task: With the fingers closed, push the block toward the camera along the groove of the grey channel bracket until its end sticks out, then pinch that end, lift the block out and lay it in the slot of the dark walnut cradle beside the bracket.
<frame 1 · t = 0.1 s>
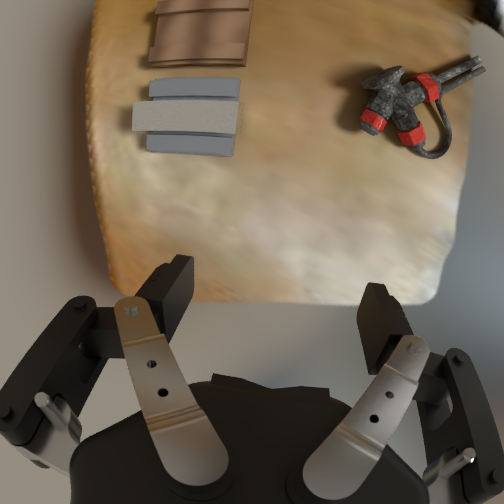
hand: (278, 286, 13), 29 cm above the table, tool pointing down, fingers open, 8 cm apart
block: (191, 115, 35), point 1 cm above the table, touching grey channel bracket
cradle: (203, 31, 30), on the table
valve: (430, 102, 31), on the table
grey channel bracket: (194, 115, 36), on the table
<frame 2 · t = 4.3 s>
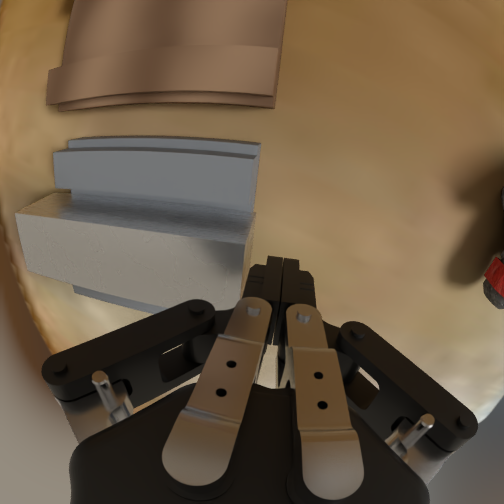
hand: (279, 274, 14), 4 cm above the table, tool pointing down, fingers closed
block: (137, 230, 16), point 2 cm above the table, touching gripper
cradle: (171, 19, 12), on the table
grey channel bracket: (157, 221, 18), on the table
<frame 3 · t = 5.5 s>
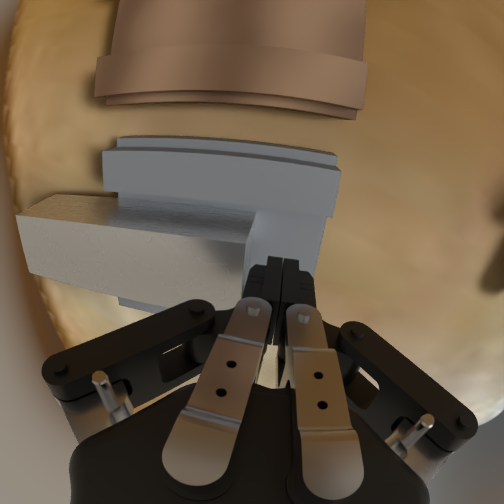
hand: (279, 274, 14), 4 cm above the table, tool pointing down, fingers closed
block: (138, 230, 16), point 1 cm above the table, touching grey channel bracket, gripper
cradle: (237, 15, 11), on the table
grey channel bracket: (218, 229, 17), on the table
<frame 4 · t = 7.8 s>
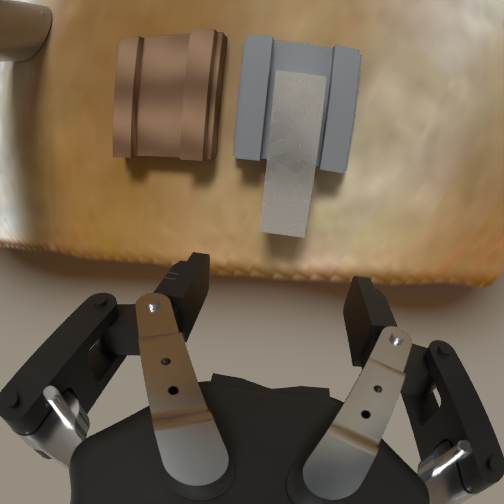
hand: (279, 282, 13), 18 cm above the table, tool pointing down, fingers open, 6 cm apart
block: (291, 150, 26), point 1 cm above the table, touching grey channel bracket
cradle: (170, 95, 26), on the table
grey channel bracket: (296, 102, 25), on the table
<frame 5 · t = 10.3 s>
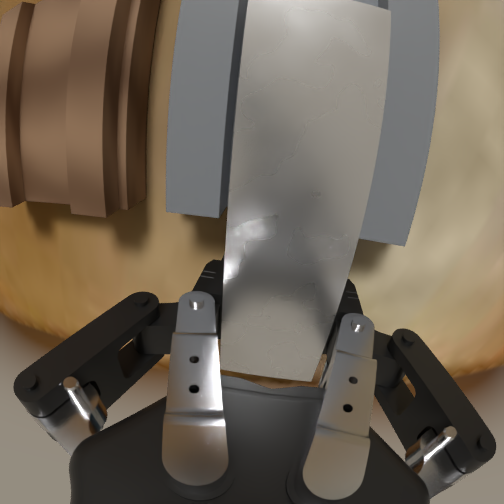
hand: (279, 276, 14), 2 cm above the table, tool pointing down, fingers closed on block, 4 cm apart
block: (293, 189, 12), point 2 cm above the table, touching grey channel bracket, gripper
cradle: (70, 88, 12), on the table
grey channel bracket: (304, 81, 11), on the table
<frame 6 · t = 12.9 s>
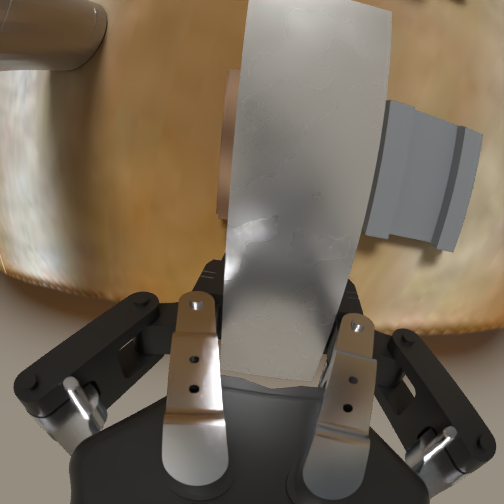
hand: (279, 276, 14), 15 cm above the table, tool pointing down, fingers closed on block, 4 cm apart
block: (294, 190, 12), point 14 cm above the table, touching gripper
cradle: (286, 148, 24), on the table
grey channel bracket: (417, 175, 23), on the table
when the fingers open (4 cm above the table, at t = 15.5 s): block drops 2 cm, resting on cradle.
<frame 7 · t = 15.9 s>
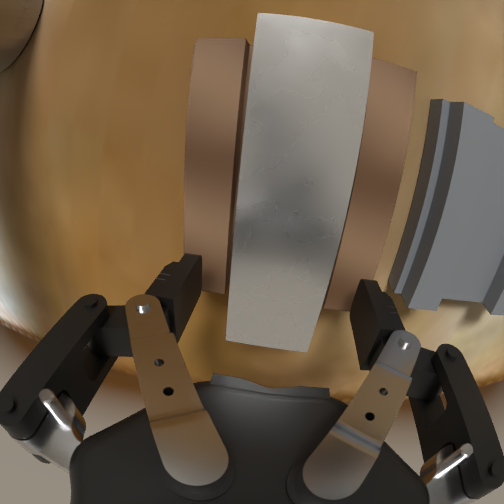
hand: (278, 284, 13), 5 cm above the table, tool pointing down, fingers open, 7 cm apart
block: (291, 182, 14), point 2 cm above the table, touching cradle
cradle: (292, 171, 15), on the table
grey channel bracket: (477, 212, 14), on the table
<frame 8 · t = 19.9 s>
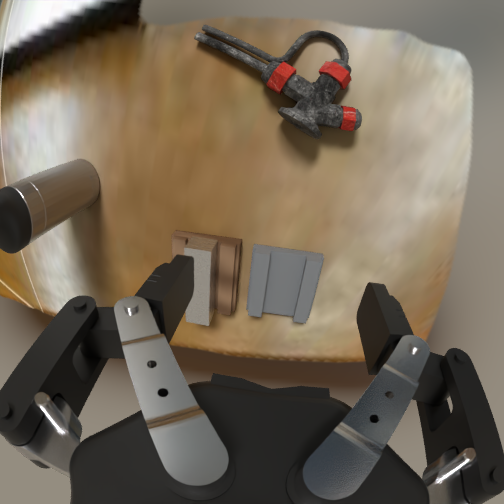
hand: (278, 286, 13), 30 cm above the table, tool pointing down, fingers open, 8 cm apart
block: (203, 276, 47), point 2 cm above the table, touching cradle
cradle: (207, 269, 49), on the table
valve: (287, 62, 33), on the table
grey channel bracket: (283, 280, 48), on the table
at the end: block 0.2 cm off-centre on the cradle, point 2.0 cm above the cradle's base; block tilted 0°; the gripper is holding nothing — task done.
